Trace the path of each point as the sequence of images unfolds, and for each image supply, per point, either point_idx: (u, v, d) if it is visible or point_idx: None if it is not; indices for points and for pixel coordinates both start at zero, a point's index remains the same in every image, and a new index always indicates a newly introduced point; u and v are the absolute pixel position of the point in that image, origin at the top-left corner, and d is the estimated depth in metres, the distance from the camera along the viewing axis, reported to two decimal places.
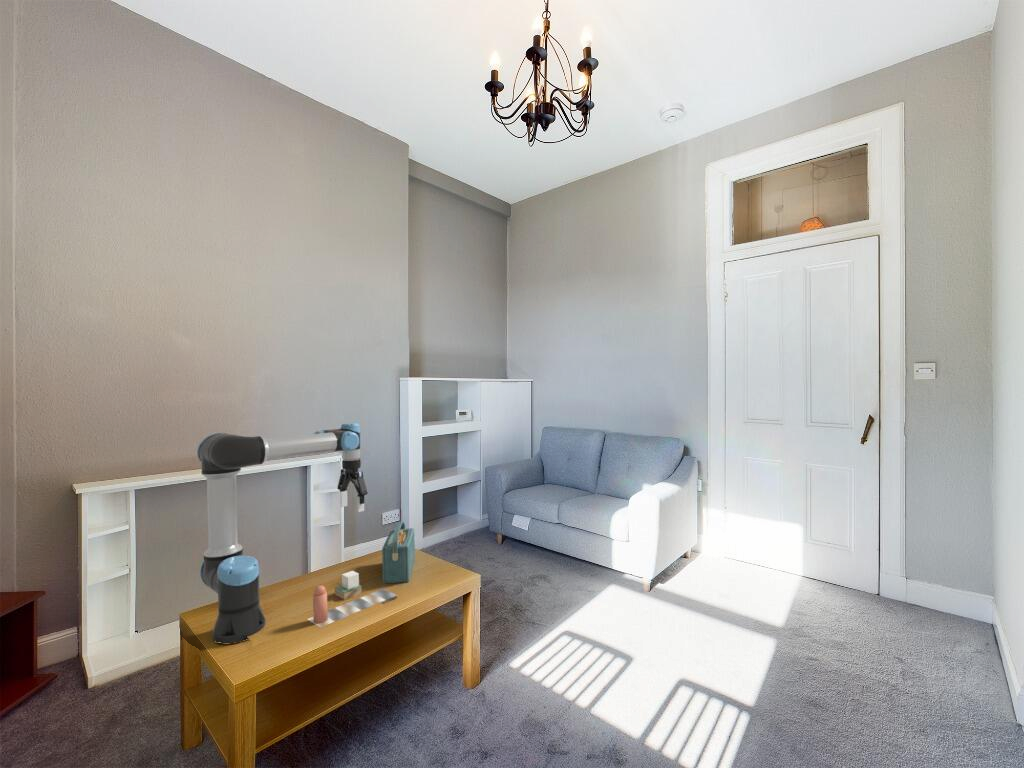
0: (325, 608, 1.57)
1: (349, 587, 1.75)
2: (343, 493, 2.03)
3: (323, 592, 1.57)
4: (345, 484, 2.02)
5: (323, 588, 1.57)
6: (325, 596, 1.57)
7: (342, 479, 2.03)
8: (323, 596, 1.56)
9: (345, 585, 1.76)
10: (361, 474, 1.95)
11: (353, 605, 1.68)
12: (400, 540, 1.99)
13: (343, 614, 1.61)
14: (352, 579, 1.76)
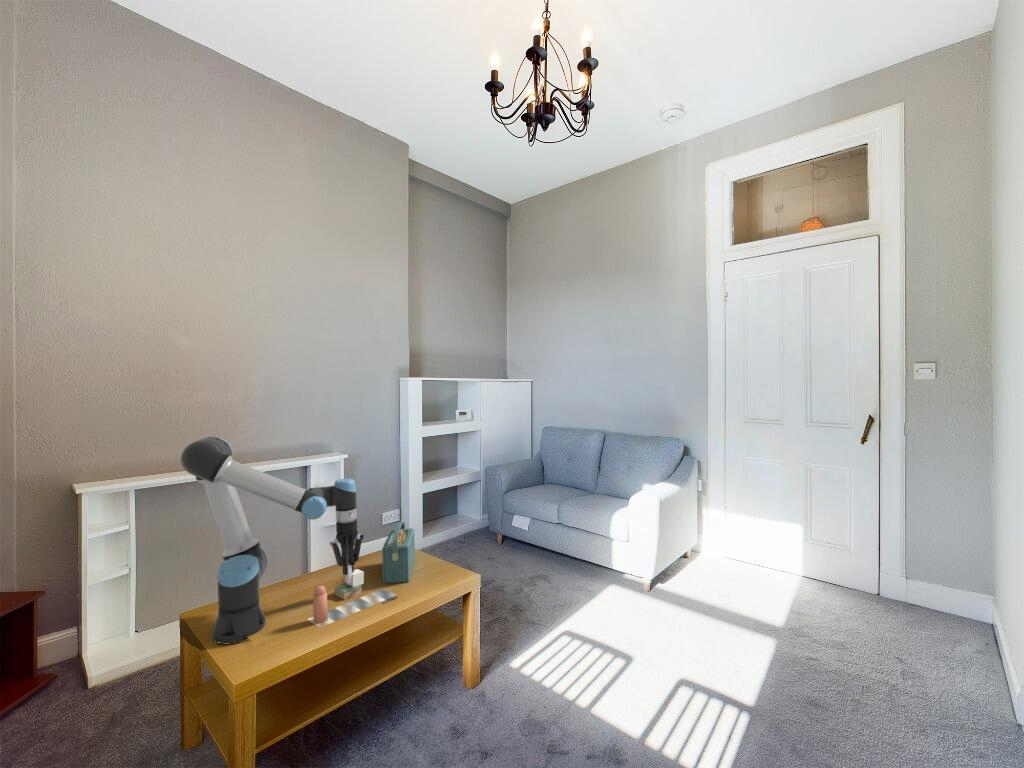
0: (325, 608, 1.57)
1: (354, 585, 1.77)
2: None
3: (323, 592, 1.57)
4: (348, 551, 1.78)
5: (323, 588, 1.57)
6: (325, 596, 1.57)
7: (355, 546, 1.80)
8: (323, 596, 1.56)
9: (350, 583, 1.78)
10: (333, 546, 1.72)
11: (353, 605, 1.68)
12: (400, 540, 1.99)
13: (343, 614, 1.61)
14: (357, 577, 1.78)
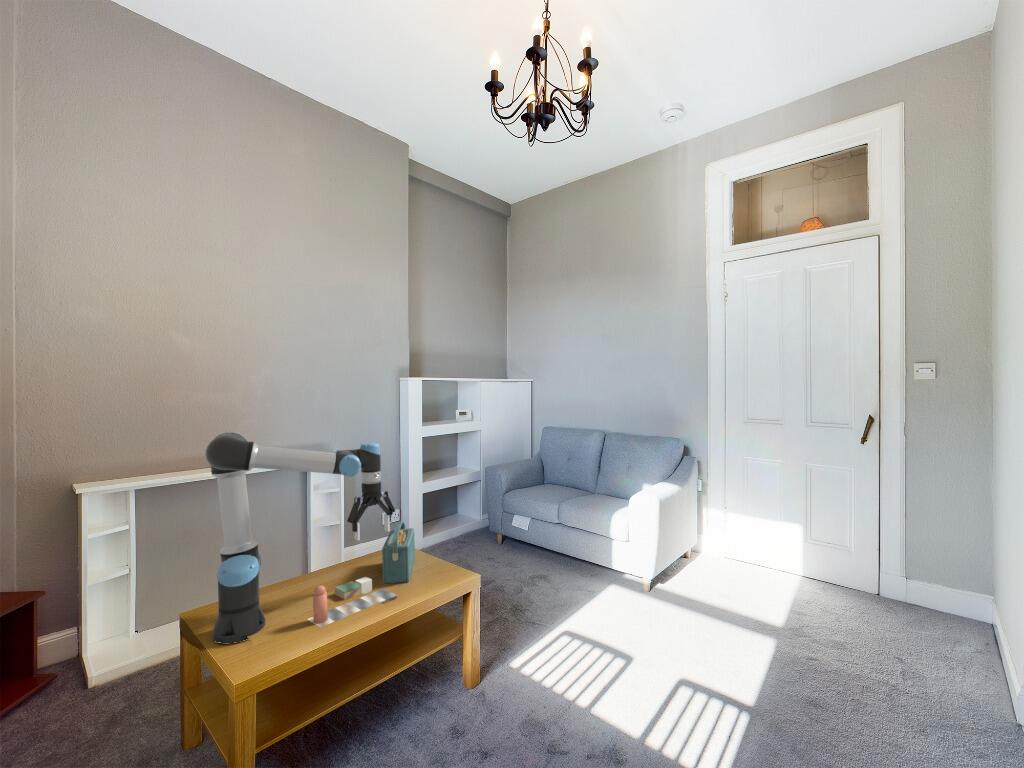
0: (325, 608, 1.57)
1: (362, 584, 1.80)
2: (385, 516, 1.91)
3: (323, 592, 1.57)
4: (381, 507, 1.90)
5: (323, 588, 1.57)
6: (325, 596, 1.57)
7: (385, 501, 1.91)
8: (323, 596, 1.56)
9: (361, 581, 1.81)
10: (356, 500, 1.80)
11: (353, 605, 1.68)
12: (400, 540, 1.99)
13: (343, 614, 1.61)
14: (368, 585, 1.81)
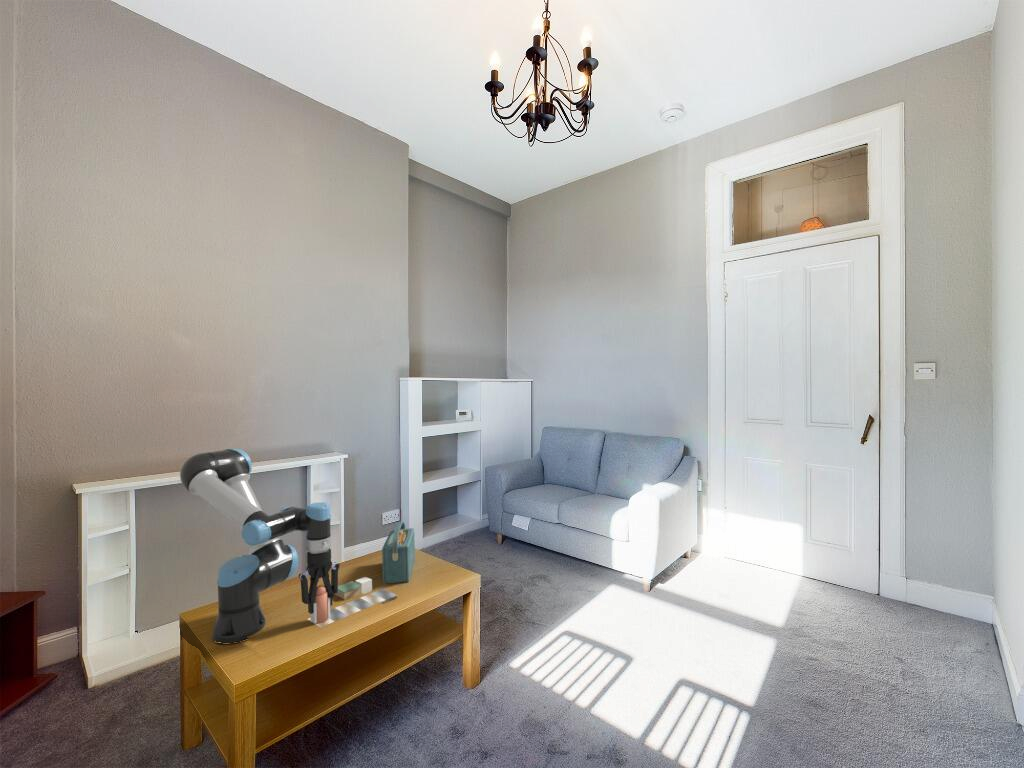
0: (325, 608, 1.57)
1: (362, 584, 1.80)
2: None
3: (323, 592, 1.57)
4: (324, 584, 1.59)
5: (323, 588, 1.57)
6: (325, 596, 1.57)
7: (332, 576, 1.62)
8: (323, 596, 1.56)
9: (361, 581, 1.81)
10: (301, 579, 1.53)
11: (353, 605, 1.68)
12: (400, 540, 1.99)
13: (343, 614, 1.61)
14: (368, 585, 1.81)
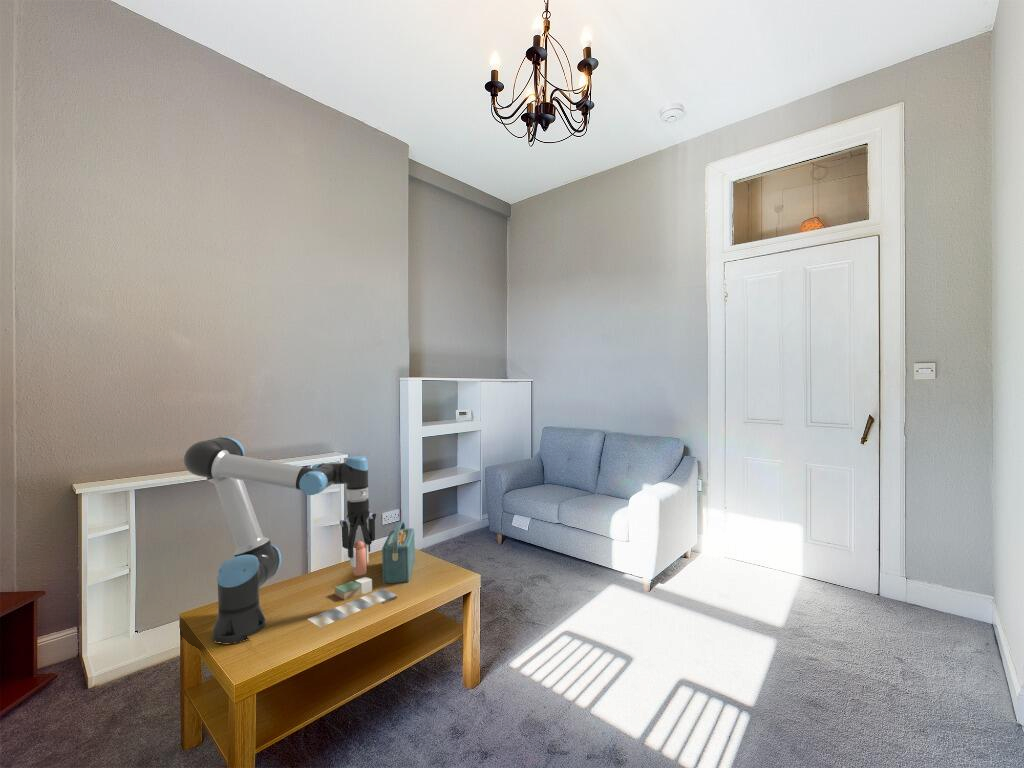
0: (364, 561, 1.68)
1: (362, 584, 1.80)
2: None
3: (362, 546, 1.68)
4: (363, 532, 1.71)
5: (362, 543, 1.69)
6: (364, 550, 1.68)
7: (369, 525, 1.73)
8: (362, 550, 1.68)
9: (361, 581, 1.81)
10: (342, 525, 1.64)
11: (353, 605, 1.68)
12: (400, 540, 1.99)
13: (343, 614, 1.61)
14: (368, 585, 1.81)
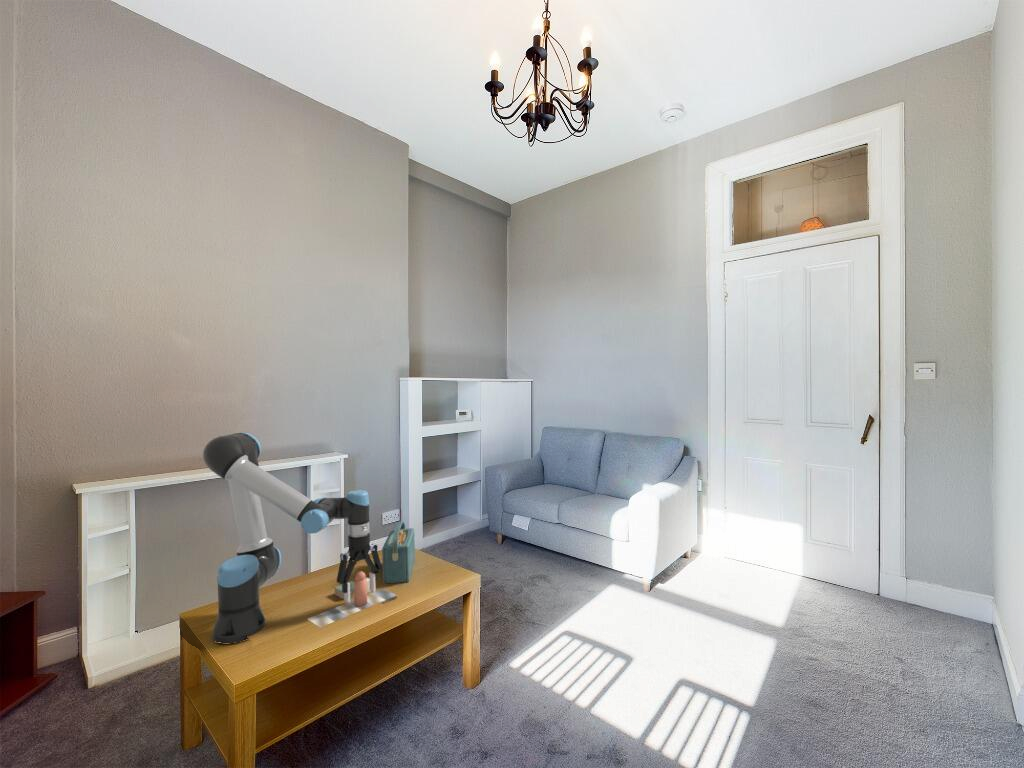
0: (365, 592, 1.68)
1: None
2: (370, 575, 1.73)
3: (363, 577, 1.68)
4: (367, 563, 1.72)
5: (363, 574, 1.69)
6: (365, 581, 1.68)
7: (373, 556, 1.74)
8: (364, 581, 1.68)
9: None
10: (342, 558, 1.64)
11: (353, 605, 1.68)
12: (400, 540, 1.99)
13: (343, 614, 1.61)
14: (368, 585, 1.81)
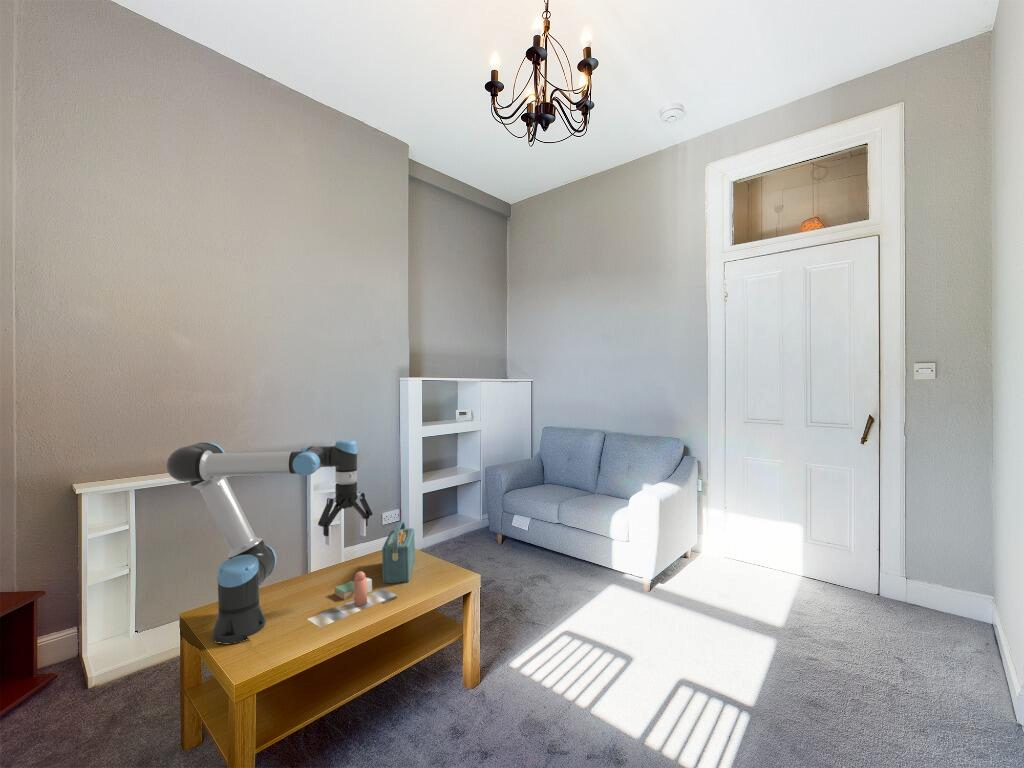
0: (365, 592, 1.68)
1: None
2: (361, 520, 1.77)
3: (363, 577, 1.68)
4: (357, 510, 1.76)
5: (363, 574, 1.69)
6: (365, 581, 1.68)
7: (362, 504, 1.77)
8: (363, 581, 1.68)
9: None
10: (329, 502, 1.66)
11: (353, 605, 1.68)
12: (400, 540, 1.99)
13: (343, 614, 1.61)
14: (368, 585, 1.81)
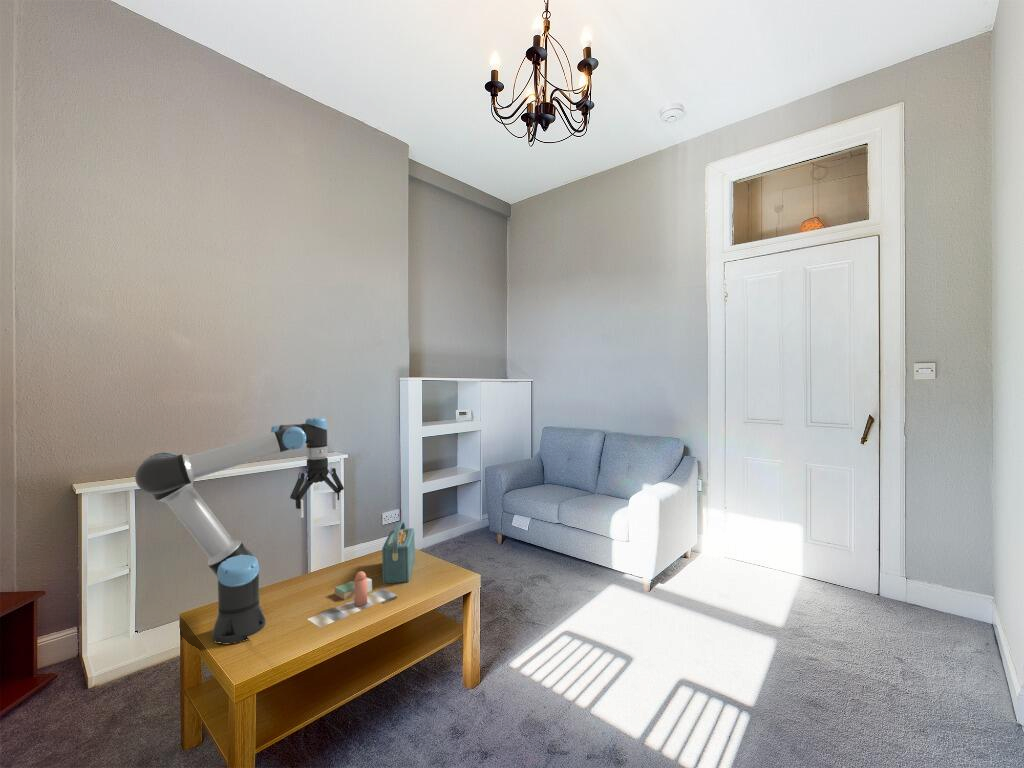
0: (365, 592, 1.68)
1: None
2: (333, 494, 1.85)
3: (364, 577, 1.68)
4: None
5: (364, 574, 1.69)
6: (365, 581, 1.68)
7: (333, 479, 1.85)
8: (364, 581, 1.68)
9: None
10: (300, 476, 1.74)
11: (353, 605, 1.68)
12: (400, 540, 1.99)
13: (343, 614, 1.61)
14: (368, 585, 1.81)
